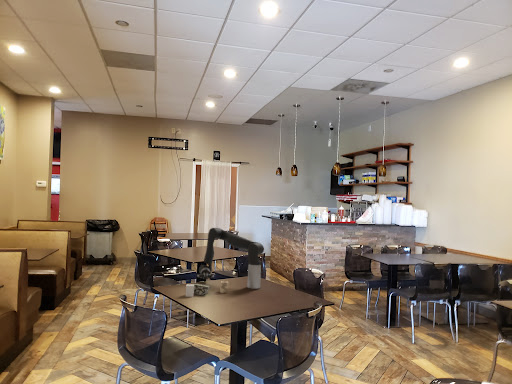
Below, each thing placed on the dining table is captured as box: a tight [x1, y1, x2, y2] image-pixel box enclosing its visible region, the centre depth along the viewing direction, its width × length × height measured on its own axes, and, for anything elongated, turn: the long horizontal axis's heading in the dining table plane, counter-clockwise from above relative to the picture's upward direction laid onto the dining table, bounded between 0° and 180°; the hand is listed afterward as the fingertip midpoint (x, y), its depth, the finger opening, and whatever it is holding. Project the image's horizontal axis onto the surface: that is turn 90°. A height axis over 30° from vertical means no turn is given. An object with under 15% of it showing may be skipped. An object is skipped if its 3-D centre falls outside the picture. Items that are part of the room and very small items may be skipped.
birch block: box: [219, 280, 229, 294], centre depth 250 cm, size 5×5×7 cm
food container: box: [193, 283, 212, 296], centre depth 242 cm, size 12×6×10 cm
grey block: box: [185, 283, 195, 298], centre depth 235 cm, size 5×5×7 cm
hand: (205, 278), depth 263 cm, fingers closed
